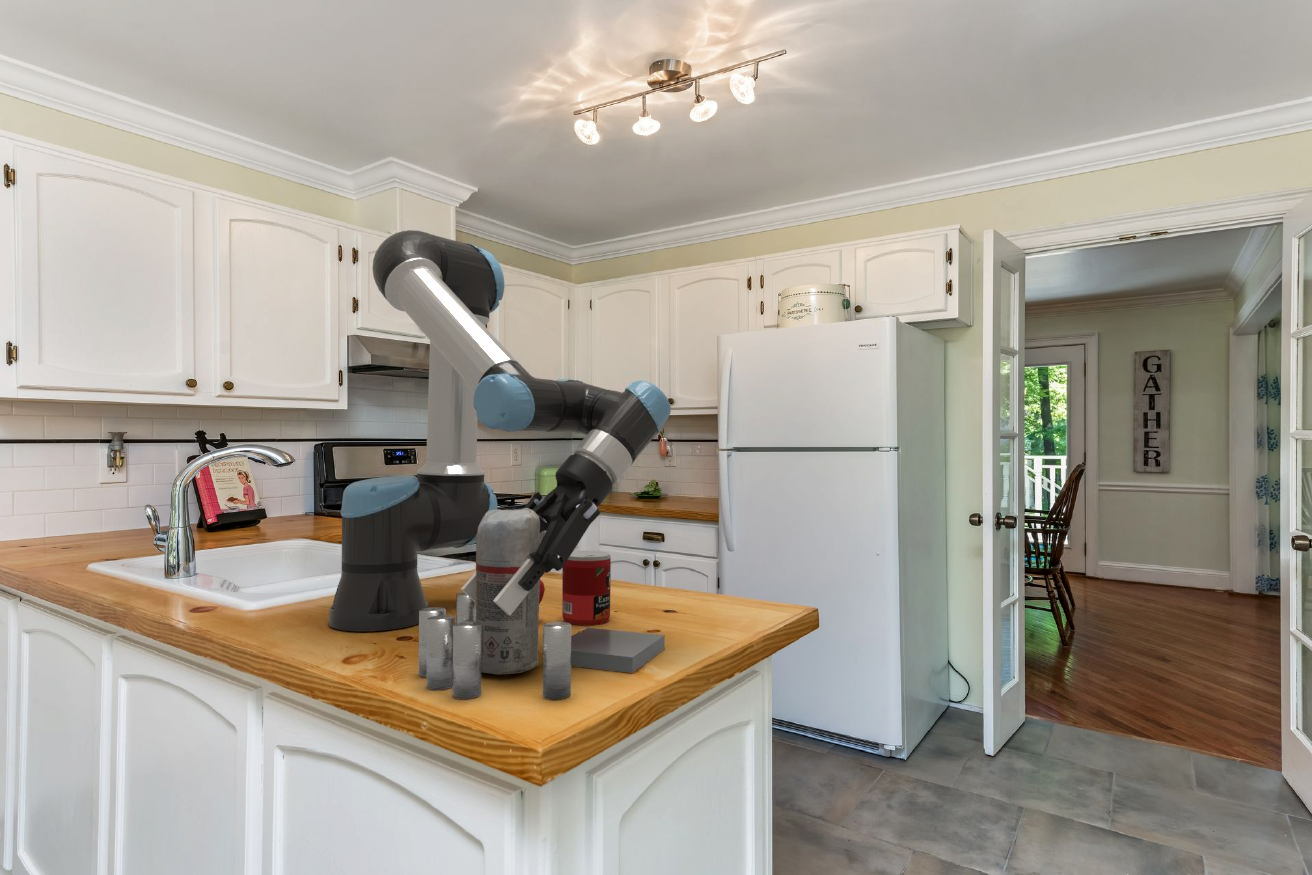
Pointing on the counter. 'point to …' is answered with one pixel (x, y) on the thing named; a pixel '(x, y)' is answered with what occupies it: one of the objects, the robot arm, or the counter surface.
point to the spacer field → (457, 652)
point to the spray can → (497, 561)
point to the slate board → (614, 649)
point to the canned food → (586, 588)
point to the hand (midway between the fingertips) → (484, 601)
